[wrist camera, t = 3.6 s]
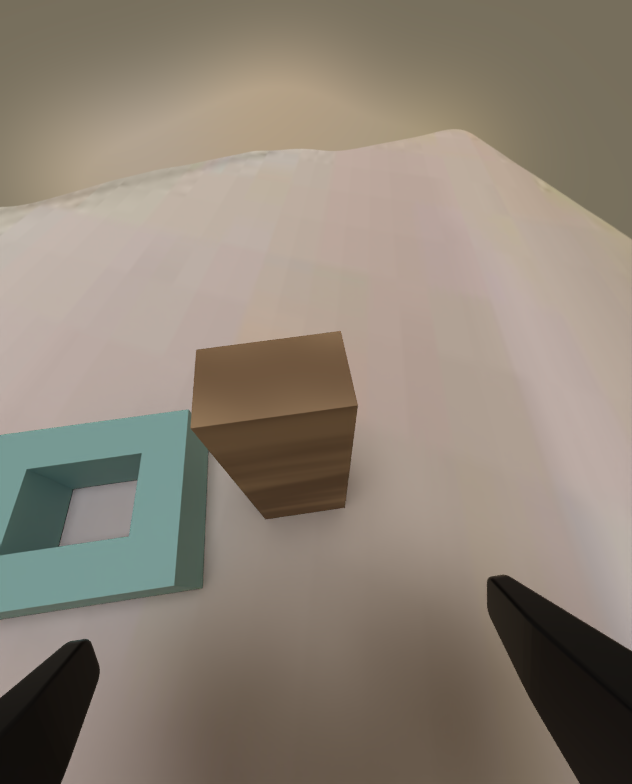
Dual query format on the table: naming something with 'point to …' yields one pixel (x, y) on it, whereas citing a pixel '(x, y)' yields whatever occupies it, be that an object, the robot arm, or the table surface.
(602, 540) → the table surface
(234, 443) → the slat
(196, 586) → the rectangular frame
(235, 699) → the table surface
